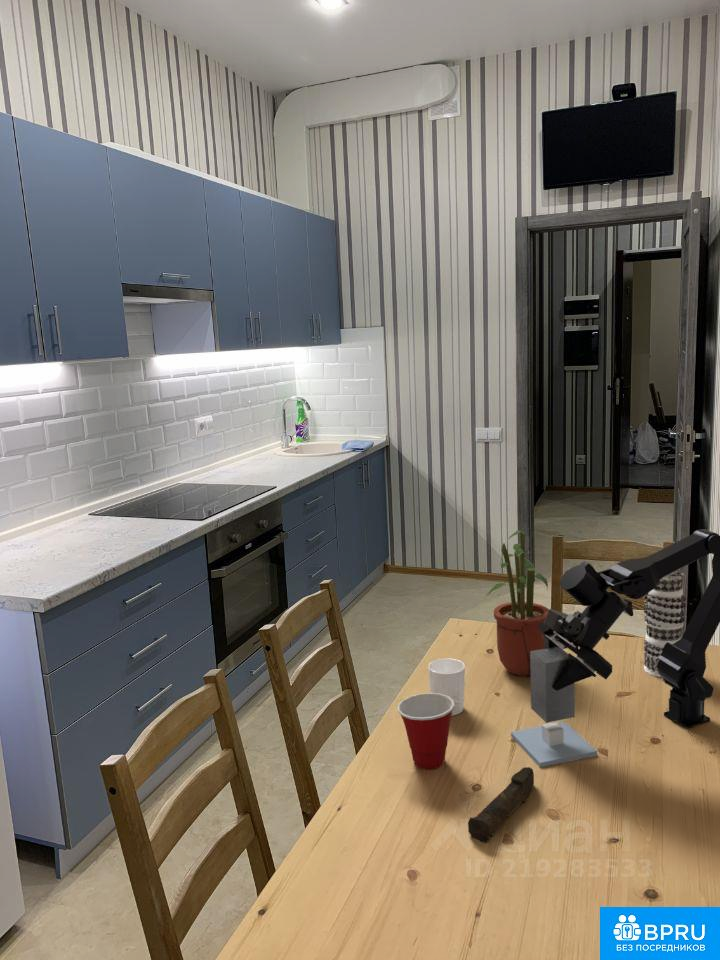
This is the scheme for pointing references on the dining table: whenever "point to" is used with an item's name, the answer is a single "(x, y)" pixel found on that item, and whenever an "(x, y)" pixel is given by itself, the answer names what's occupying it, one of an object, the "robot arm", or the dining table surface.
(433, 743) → the plastic cup
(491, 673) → the dining table surface
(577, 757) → the base block
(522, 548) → the potted plant
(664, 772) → the dining table surface
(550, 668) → the grey block
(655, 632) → the decorative candle
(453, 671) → the white cup
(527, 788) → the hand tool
